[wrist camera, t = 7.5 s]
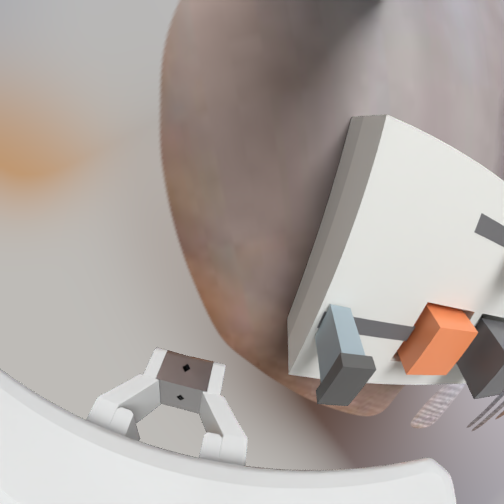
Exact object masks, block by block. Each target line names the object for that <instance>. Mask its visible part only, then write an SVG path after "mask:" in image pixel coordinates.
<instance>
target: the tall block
mask: <svg viewBox="0 0 504 504" xmlns="http://www.w3.org/2000/svg"><path fill="white" fill-rule="evenodd" d="M315 340H316V348H317V355H318V363H319V371H320V380H321V384H320V386H319V387H318V389H317V390H316V395H317V404H326V405H340V406H348V405H349V404H350V403H351V401H352V400H353V399H354V398H355V397H356V395H357V394H358V393H359V392H360V390H361V389H362V388H363V387H364V385H365V384H366V383H367V382H368V380H369V379H370V378H371V376H372V375H373V374H374V372H375V371H376V367H375V363H374V360H373V357H372V356H365V352H364V349H363V346H362V343H361V339H360V336H359V333H358V330H357V327H356V324H355V321H354V318H353V315H352V312H351V309H350V308H347V307H342V306H337V305H332V304H330V306H329V308H328V310H327V312H326V315H325V317H324V319H323V321H322V323H321V325H320V327H319V329H318V331H317V333H316V336H315Z"/></svg>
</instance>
